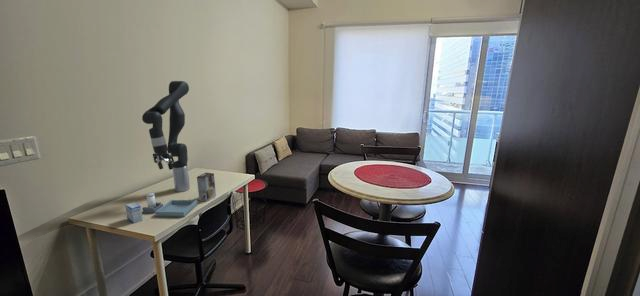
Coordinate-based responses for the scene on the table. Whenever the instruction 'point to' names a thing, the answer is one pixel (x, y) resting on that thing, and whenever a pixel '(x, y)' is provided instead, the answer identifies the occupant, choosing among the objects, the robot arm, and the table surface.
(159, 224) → the table surface
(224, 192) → the table surface
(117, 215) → the table surface
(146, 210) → the holder
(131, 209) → the medicine box
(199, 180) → the coffee box
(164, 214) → the parts tray
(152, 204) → the white dome cap bottle
